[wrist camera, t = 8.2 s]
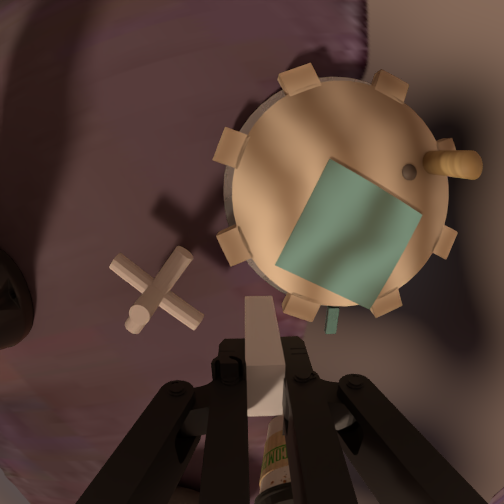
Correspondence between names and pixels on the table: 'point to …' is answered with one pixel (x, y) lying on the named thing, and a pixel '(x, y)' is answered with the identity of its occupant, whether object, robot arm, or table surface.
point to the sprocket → (340, 192)
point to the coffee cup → (275, 467)
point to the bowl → (184, 496)
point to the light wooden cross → (157, 290)
